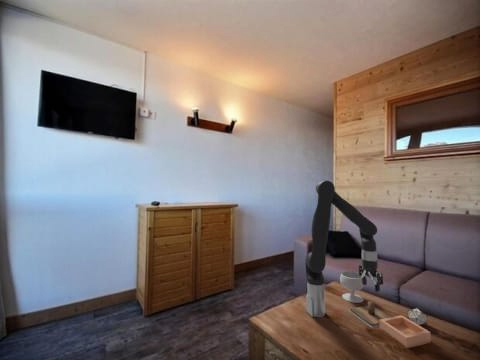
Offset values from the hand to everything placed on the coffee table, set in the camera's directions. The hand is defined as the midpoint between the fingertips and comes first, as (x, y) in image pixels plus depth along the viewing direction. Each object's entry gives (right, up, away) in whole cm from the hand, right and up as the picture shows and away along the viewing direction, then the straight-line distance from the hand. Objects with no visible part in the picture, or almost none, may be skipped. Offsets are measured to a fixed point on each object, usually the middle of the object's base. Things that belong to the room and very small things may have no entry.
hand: (370, 288), depth 123 cm
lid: (0, -15, -1) cm, 15 cm away
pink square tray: (+6, -15, -17) cm, 23 cm away
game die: (+19, -15, -9) cm, 25 cm away
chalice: (-1, -16, +19) cm, 25 cm away
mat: (0, -15, -1) cm, 15 cm away
